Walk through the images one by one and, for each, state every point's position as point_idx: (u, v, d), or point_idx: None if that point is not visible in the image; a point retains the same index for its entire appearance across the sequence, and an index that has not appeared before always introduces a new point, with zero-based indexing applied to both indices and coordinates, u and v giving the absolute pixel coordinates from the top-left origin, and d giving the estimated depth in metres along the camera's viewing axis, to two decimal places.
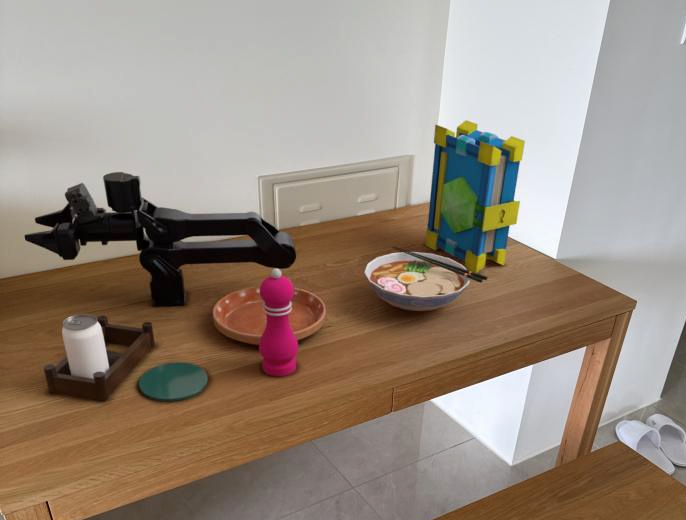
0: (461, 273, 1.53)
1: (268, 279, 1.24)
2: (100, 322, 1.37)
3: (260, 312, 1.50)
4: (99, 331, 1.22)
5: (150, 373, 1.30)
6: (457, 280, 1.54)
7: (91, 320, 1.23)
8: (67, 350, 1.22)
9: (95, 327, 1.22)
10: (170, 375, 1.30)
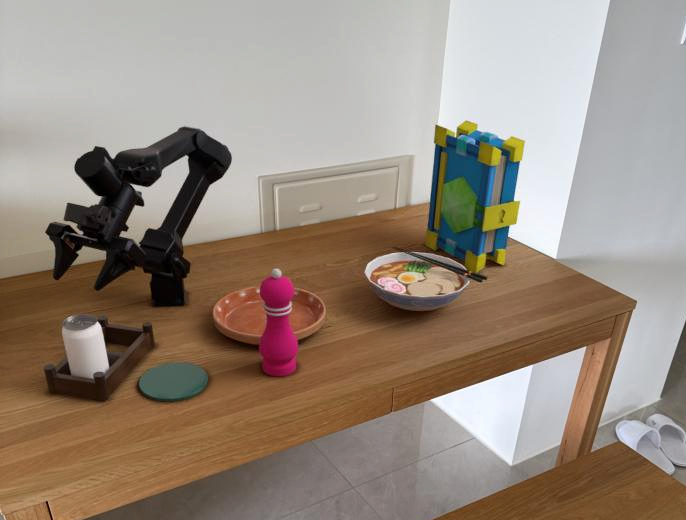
0: (461, 273, 1.53)
1: (268, 279, 1.24)
2: (100, 322, 1.37)
3: (260, 312, 1.50)
4: (99, 331, 1.22)
5: (150, 373, 1.30)
6: (457, 280, 1.54)
7: (91, 320, 1.23)
8: (67, 350, 1.22)
9: (95, 327, 1.22)
10: (170, 375, 1.30)
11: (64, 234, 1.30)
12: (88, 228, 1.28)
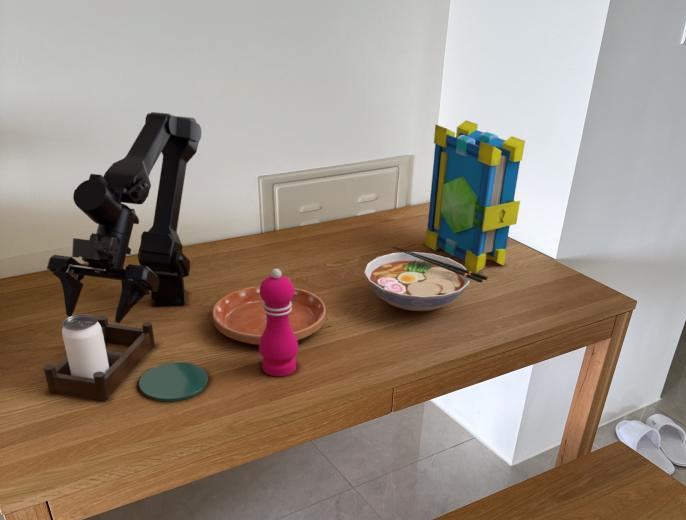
0: (461, 273, 1.53)
1: (268, 279, 1.24)
2: (100, 322, 1.37)
3: (260, 312, 1.50)
4: (99, 331, 1.22)
5: (150, 373, 1.30)
6: (457, 280, 1.54)
7: (91, 320, 1.23)
8: (67, 350, 1.22)
9: (95, 327, 1.22)
10: (170, 375, 1.30)
11: (68, 267, 1.26)
12: (95, 259, 1.25)
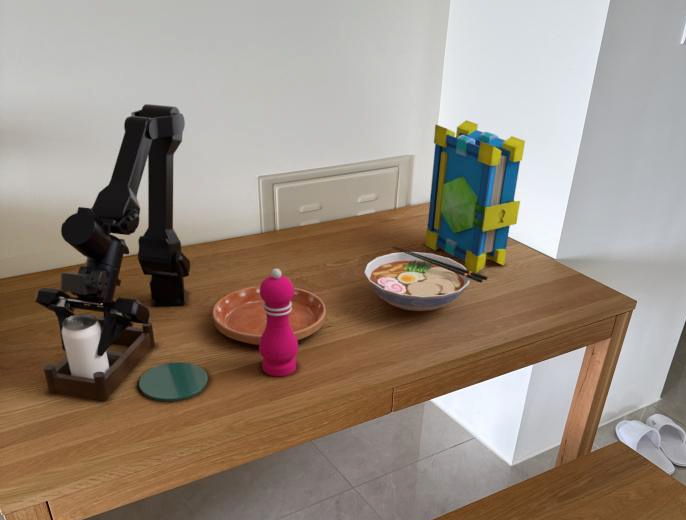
0: (461, 273, 1.53)
1: (268, 279, 1.24)
2: (100, 322, 1.37)
3: (260, 312, 1.50)
4: (99, 331, 1.22)
5: (150, 373, 1.30)
6: (457, 280, 1.54)
7: (91, 320, 1.23)
8: (67, 350, 1.22)
9: (95, 327, 1.22)
10: (170, 375, 1.30)
11: (64, 301, 1.24)
12: None
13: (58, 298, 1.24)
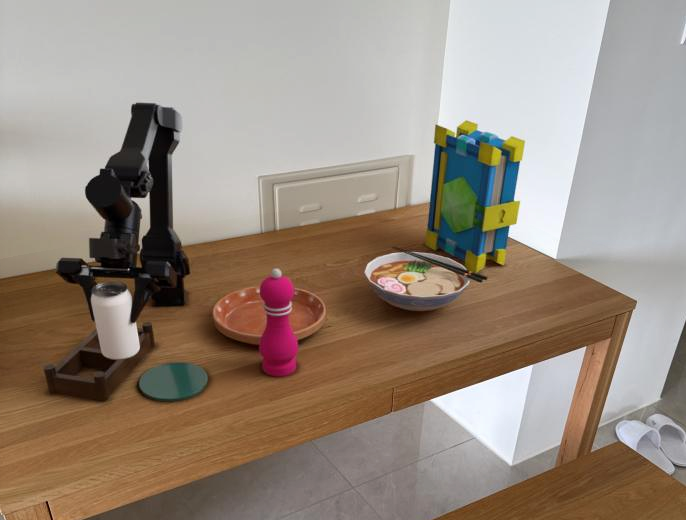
0: (461, 273, 1.53)
1: (268, 279, 1.24)
2: None
3: (260, 312, 1.50)
4: (130, 297, 1.19)
5: (150, 373, 1.30)
6: (457, 280, 1.54)
7: (120, 287, 1.19)
8: (98, 320, 1.18)
9: (127, 292, 1.18)
10: (170, 375, 1.30)
11: (88, 270, 1.19)
12: (109, 259, 1.19)
13: (81, 267, 1.19)
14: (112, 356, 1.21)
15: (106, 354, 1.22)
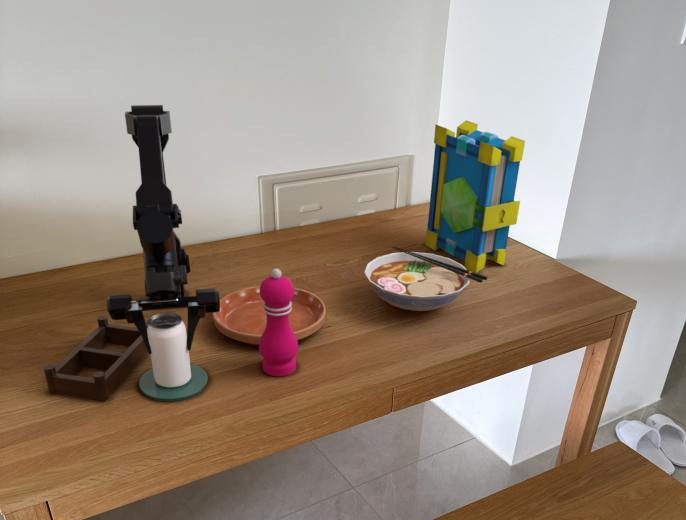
0: (461, 273, 1.53)
1: (268, 279, 1.24)
2: (100, 322, 1.37)
3: (260, 312, 1.50)
4: None
5: (150, 373, 1.30)
6: (457, 280, 1.54)
7: (173, 317, 1.23)
8: (158, 351, 1.22)
9: (182, 322, 1.23)
10: None
11: (138, 305, 1.22)
12: (159, 291, 1.23)
13: (131, 303, 1.22)
14: (170, 384, 1.26)
15: (163, 383, 1.26)
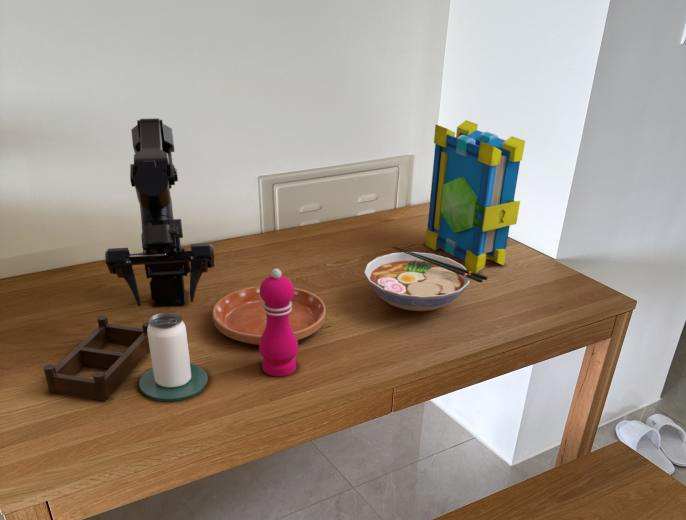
0: (461, 273, 1.53)
1: (268, 279, 1.24)
2: (100, 322, 1.37)
3: (260, 312, 1.50)
4: None
5: (150, 373, 1.30)
6: (457, 280, 1.54)
7: (173, 317, 1.24)
8: (158, 351, 1.22)
9: (182, 322, 1.23)
10: None
11: (128, 258, 1.27)
12: (156, 245, 1.28)
13: None
14: (170, 384, 1.26)
15: (163, 383, 1.26)
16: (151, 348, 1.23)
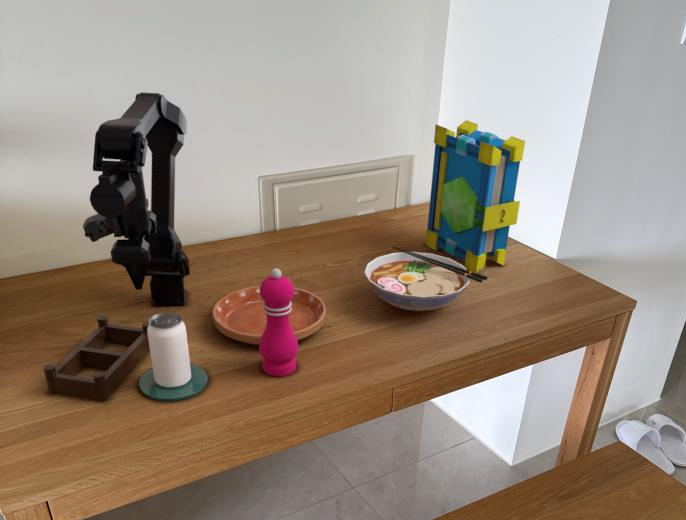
0: (461, 273, 1.53)
1: (268, 279, 1.24)
2: (100, 322, 1.37)
3: (260, 312, 1.50)
4: None
5: (150, 373, 1.30)
6: (457, 280, 1.54)
7: (173, 317, 1.24)
8: (158, 351, 1.22)
9: (182, 322, 1.23)
10: None
11: None
12: None
13: None
14: (170, 384, 1.26)
15: (163, 383, 1.26)
16: (151, 348, 1.23)
